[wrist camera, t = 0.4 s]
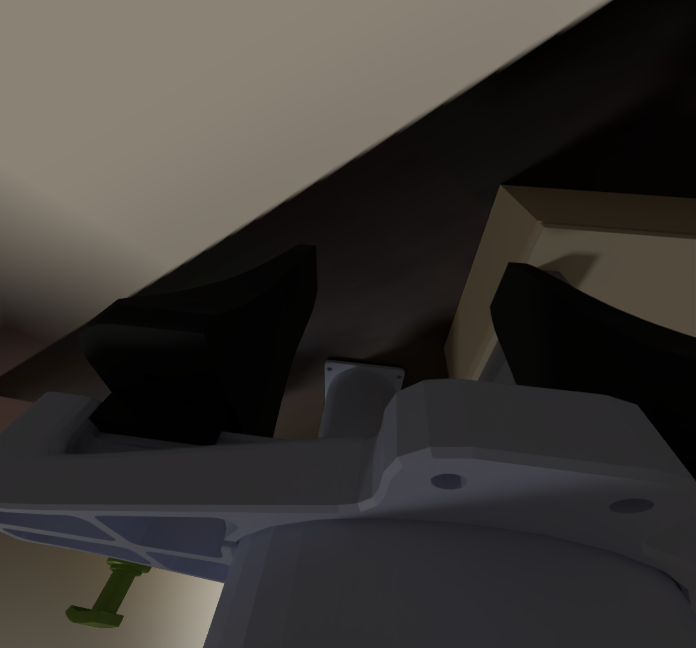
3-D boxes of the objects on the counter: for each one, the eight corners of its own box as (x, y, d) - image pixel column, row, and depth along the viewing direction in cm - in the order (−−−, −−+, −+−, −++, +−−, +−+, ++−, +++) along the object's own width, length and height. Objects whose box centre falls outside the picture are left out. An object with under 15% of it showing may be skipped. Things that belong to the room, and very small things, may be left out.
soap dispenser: (181, 393, 37) (31, 615, 22) (216, 378, 34) (73, 622, 19) (216, 418, 40) (106, 629, 24) (252, 406, 37) (152, 637, 22)
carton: (627, 368, 26) (678, 430, 21) (443, 348, 27) (454, 403, 22) (786, 205, 17) (933, 251, 12) (500, 184, 18) (536, 220, 13)
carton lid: (681, 433, 21) (705, 463, 19) (454, 406, 22) (459, 432, 20) (942, 254, 12) (1027, 281, 10) (539, 223, 13) (560, 243, 12)
